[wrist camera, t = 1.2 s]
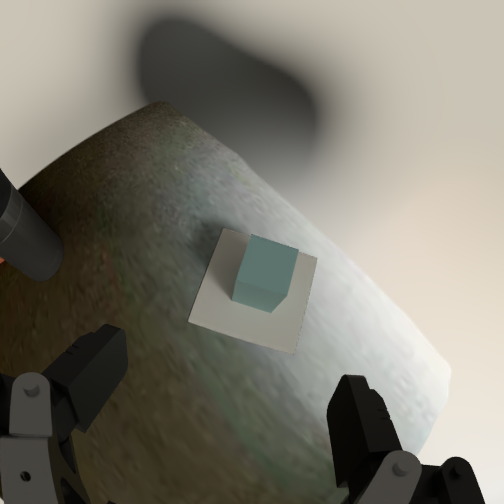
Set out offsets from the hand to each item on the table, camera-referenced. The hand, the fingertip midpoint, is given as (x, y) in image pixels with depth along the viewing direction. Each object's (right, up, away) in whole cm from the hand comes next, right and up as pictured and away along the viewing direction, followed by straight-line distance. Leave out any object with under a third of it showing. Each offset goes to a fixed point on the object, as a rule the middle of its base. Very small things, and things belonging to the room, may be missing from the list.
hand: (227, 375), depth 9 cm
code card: (+2, -1, +32) cm, 32 cm away
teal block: (+2, -1, +32) cm, 32 cm away
